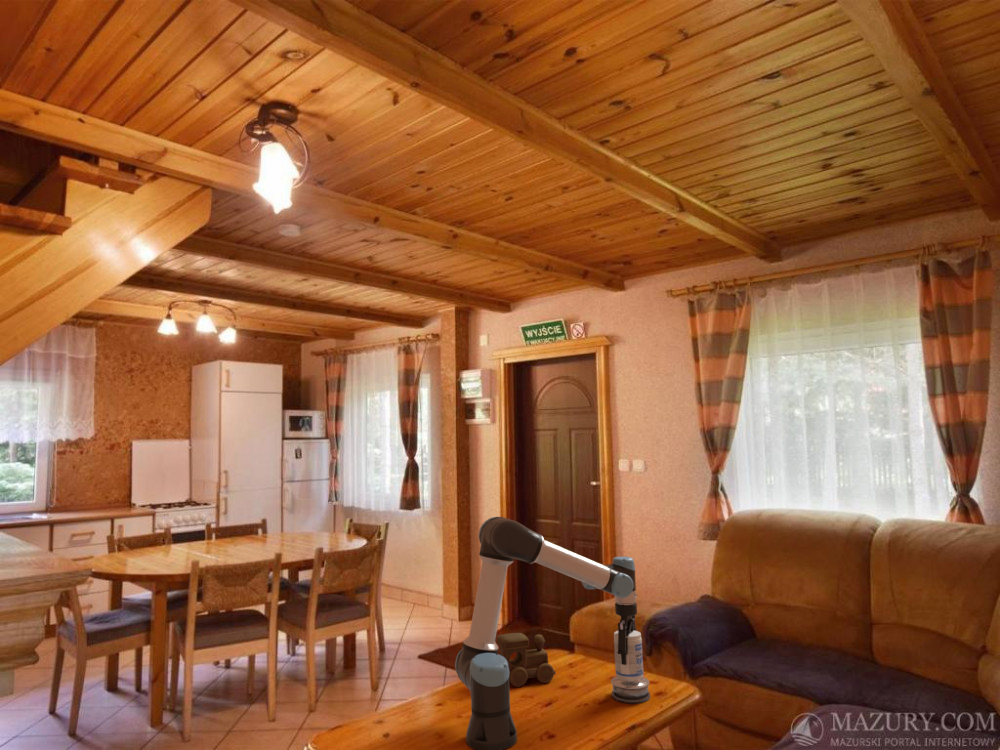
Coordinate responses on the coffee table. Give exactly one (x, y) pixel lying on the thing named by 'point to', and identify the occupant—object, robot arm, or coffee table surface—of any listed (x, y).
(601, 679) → the coffee table surface
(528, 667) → the wooden toy train
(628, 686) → the duct stub
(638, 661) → the supplement tub
